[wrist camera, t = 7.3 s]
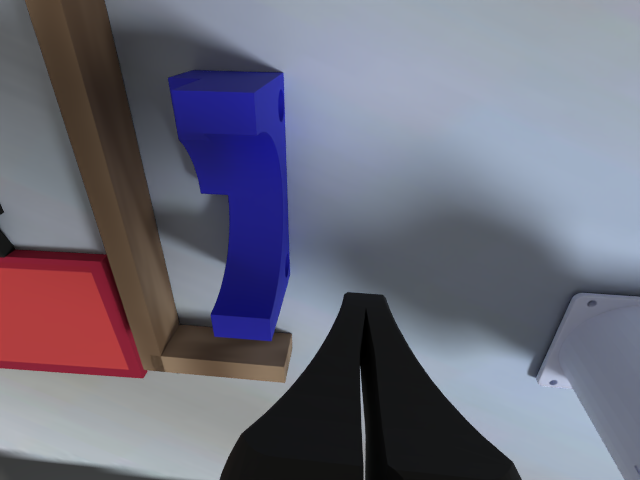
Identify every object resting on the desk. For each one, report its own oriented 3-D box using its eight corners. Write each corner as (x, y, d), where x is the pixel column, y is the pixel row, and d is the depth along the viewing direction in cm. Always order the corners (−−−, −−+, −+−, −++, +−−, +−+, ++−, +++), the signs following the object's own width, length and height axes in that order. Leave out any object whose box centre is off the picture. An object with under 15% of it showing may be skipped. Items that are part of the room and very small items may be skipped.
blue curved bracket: (194, 69, 19) (130, 88, 14) (284, 72, 18) (253, 92, 13) (222, 268, 25) (186, 334, 20) (290, 273, 24) (271, 341, 19)
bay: (279, -71, 15) (262, -89, 13) (292, 348, 28) (285, 382, 25) (54, -71, 16) (-4, -88, 14) (163, 337, 28) (143, 369, 26)
